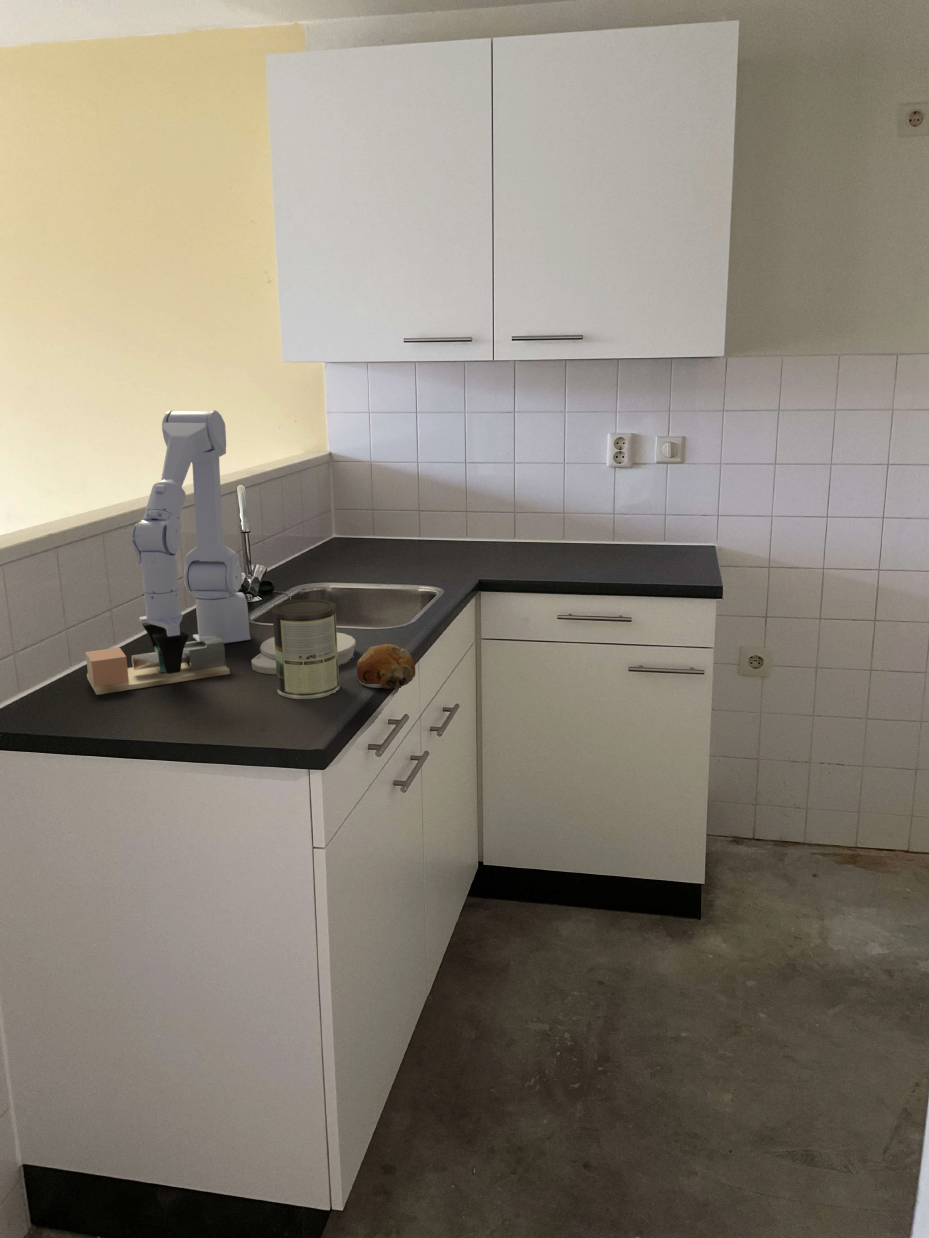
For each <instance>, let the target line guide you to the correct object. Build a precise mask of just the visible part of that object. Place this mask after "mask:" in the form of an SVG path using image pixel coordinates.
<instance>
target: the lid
mask: <svg viewBox="0 0 929 1238" xmlns="http://www.w3.org/2000/svg"><path fill="white" fill-rule="evenodd" d="M356 642H357V641H356V639H355V638H354V637H353V636H352V635H348V634H346V633H342V632H337V650H338V665H339V664H341V663H343V662H345V661H347V660H348V659H349V658H351V656H353V653H354V654H355V652H354V649H355V647H356V646H357V645H356V644H357V643H356ZM259 650H260V653H259V654H257V655H256V656H254V657H253V658H252V659H251V668H252V671H253V670H254V671H255V672H257V673H261V674H265V675H277V670H276V655H275V640H274V636H273V637H270V638H268V639H266V640H265V641H263V642H262V643H261V645H260V647H259ZM353 657H354V656H353Z"/></svg>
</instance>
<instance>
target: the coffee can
mask: <svg viewBox="0 0 929 1238" xmlns="http://www.w3.org/2000/svg"><path fill="white" fill-rule="evenodd" d="M336 611H337V604H336V603H335V602H333V601H330V600H326V599H316V598H315V599H313V598H311V599H309V598H307V599H305V598H304V599H294V600H287V601H283V602H279V603H278V604H275V605H273V606H272V607H271V614H272V621H273V622H272V624H273V625H272V626H273V637H274V640H275V655H276V670H277V674H276V680H277V681H276V682H277V683H276V685H277V690H276V691H277V693H278V695H280V696H281V697H284V698H287V699H294V700H313V699H314V700H315V699H320V698H324V697H329V696H331V695H333V694H335V693H337V692H338V691H339V690H340V688H341V686H340V674H339V666H338V650H337V633H338V632H337V631H338V630H337V615H336V614H337V612H336ZM337 690H338V691H337ZM336 691H337V692H336ZM332 693H333V694H332ZM330 694H331V695H330Z"/></svg>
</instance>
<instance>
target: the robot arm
mask: <svg viewBox="0 0 929 1238" xmlns="http://www.w3.org/2000/svg"><path fill="white" fill-rule="evenodd" d="M161 430H162V435H163V437H162V438H163V440H164V443H165V445H166V453H165V455H164V457H165V458H164V463H163V468H162V469H163V470H162V473H161V479H160V481H158V482H155V483H154V484H153V485H152V487H151V490H150V494H149V497H148V500H147V501H148V502H147V504H146V506H145V507H146V508H145V511H144V515H143V518H142V520H140V521H139V522H136V523H135V525H134V526H133V529H132V535H131V536H132V538H131V544H132V548H133V550H134V552H135V555H136V559H137V564H138V565H140V566H141V574H142V575H141V576H142V587H143V589H142V590H143V596H144V597H143V598H144V608H145V616H139V617H138V619H139V620H138V621H139V622H140V623H141V624H142V625H141V626H142V627H143V628H144V630H145V631H146V633H147V635H148V638H149V640H150V643H151V646H152V650H153V652H155V648H154V646H159V649H160V651H161V654H162V658H163V662H164V666H165V669H166V672H167V674H171V673H178V672H180V669H181V662H182V655H183V650H184V646H185V644H186V642H188V639H189V636H190V634H189V632H188V631H181V630H180V629H181V628H180V625H181V623H182V620H183V618H184V617H183V613H182V612H181V610H182V609H181V599H180V589H179V588H180V587H179V575H178V565H177V564H178V563H177V553H178V551H179V550H180V547H181V543H182V533H181V531H182V524H181V522H180V520H181V516H182V513H183V509H184V506H185V502H186V498H187V494H186V491H185V490H184V489H183V484H184V482H185V480H186V477H187V475H188V472H189V469H190V466H191V464H192V480H193V481H192V482H193V483H192V484H193V500H194V518H195V536H196V537H195V538H196V546H195V547H194V548H192V549H191V550H190V551H189V552H188V553H187V554H186V555H185V556H184V557H185V559H184V560H185V561H184V569H183V583H184V584H183V585H184V587H185V589H186V590H187V591H188V592H189V593H191V598H194V600H195V609H196V610H195V611H196V612H195V613H196V621H197V634H192V638H193V639H194V641H199V637H204V636H212V635H217V636H218V637H219V638H220V639H221V640H223V641H224V644H228V643H236V642H242V641H249V640H251V639H252V638H251V636H250V635H251V634H250V622H249V620H250V619H249V609H248V607H249V606H248V602H247V599H246V596H245V594H244V592H240V589H241V586H242V581H243V573H242V567H241V566H240V557H239V554H238V553H237V552H236V551H234V550H233V549H232V548H230V547H229V546H228V545H226V544H225V543H224V533H223V531H224V530H223V511H222V510H223V509H222V507H223V506H222V493H221V492H222V491H221V469H220V467H221V466H220V457H222V456H224V455H226V454H227V434H226V432H227V430H226V424H225V421H224V419H223V416H222V415H221V414H220V412H219V411H217V410H210V411H209V410H208V411H207V410H206V411H203V410H201V411H200V410H197V411H196V410H194V411H193V410H192V411H191V410H190V411H187V410H186V411H185V410H184V411H183V410H182V411H181V410H180V411H174V410H167V412H165V414H164V416H163V418H162V423H161ZM238 591H239V592H238Z"/></svg>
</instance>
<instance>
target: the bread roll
mask: <svg viewBox="0 0 929 1238" xmlns="http://www.w3.org/2000/svg"><path fill="white" fill-rule="evenodd" d="M356 675H357V676H356V677H357V679H358V678H359V680H360V681H361V682H362V683H364V684H381V685H383V688H384V689H383V690H385V689H386V690H387V689H398V688H400V687H404V686H406V685H408V684H409V683H411V682H412V681H413V680H414V678H415V677H416V664H415V661H414V659H413V657H412V655H411V654H410V653H409V652H408V651H407V650H406V649H404V648H403V647H401V646H398V645H395V644H390V643H387V644H386V643H384V644H380V645H373V646H369V647H368V649H367V650H366V651H365V652H364V653H363V655H362V656H361V657H360V658H359V659H358V660H357V661H356ZM359 680H358V681H359Z"/></svg>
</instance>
